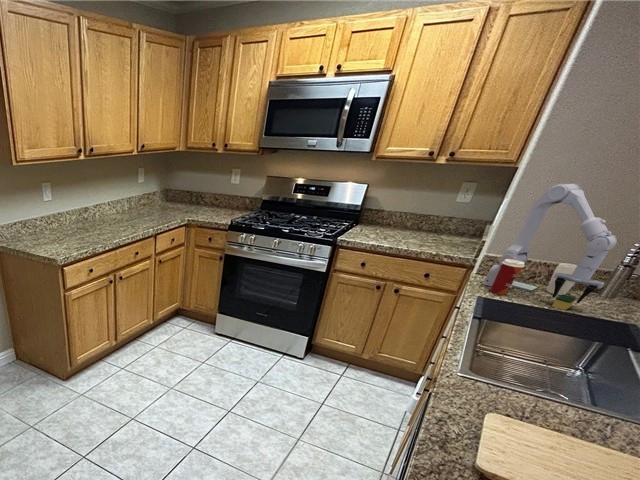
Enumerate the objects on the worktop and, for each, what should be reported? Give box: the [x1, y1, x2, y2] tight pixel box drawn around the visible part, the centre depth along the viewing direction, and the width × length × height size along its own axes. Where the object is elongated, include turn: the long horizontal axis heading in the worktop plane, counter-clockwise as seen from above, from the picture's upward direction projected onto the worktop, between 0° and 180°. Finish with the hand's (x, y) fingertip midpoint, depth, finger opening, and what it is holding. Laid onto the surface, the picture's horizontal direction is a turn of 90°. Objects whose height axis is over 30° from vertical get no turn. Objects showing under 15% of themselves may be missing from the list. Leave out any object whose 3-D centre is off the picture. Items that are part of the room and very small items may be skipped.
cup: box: [546, 262, 578, 296], centre depth 183 cm, size 9×9×12 cm
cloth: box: [511, 280, 538, 292], centre depth 192 cm, size 11×8×1 cm
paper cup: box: [489, 259, 526, 296], centre depth 180 cm, size 8×8×14 cm
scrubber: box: [551, 294, 577, 311], centre depth 171 cm, size 7×4×4 cm, turn 124°
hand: (565, 299), depth 170 cm, fingers open, 7 cm apart
